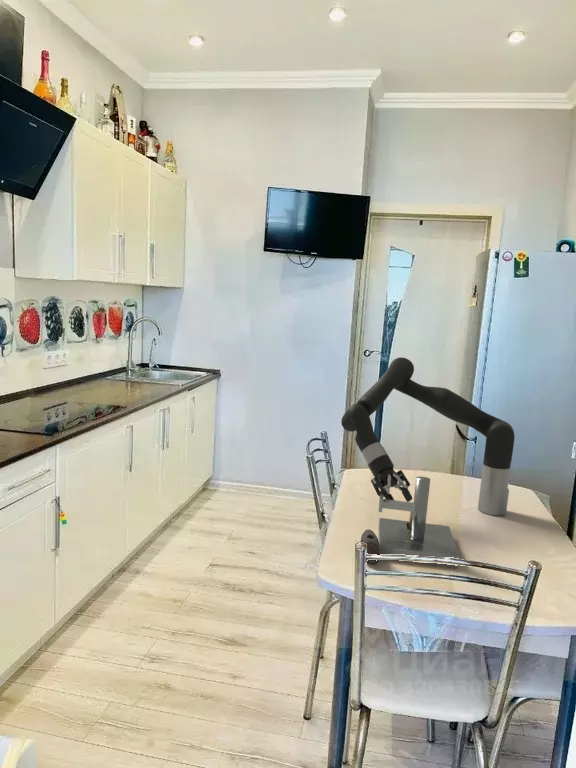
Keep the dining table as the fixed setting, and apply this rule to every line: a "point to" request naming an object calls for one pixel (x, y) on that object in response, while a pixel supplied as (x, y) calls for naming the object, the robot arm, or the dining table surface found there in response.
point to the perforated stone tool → (371, 543)
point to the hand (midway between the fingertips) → (402, 503)
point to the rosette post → (415, 529)
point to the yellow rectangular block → (410, 520)
